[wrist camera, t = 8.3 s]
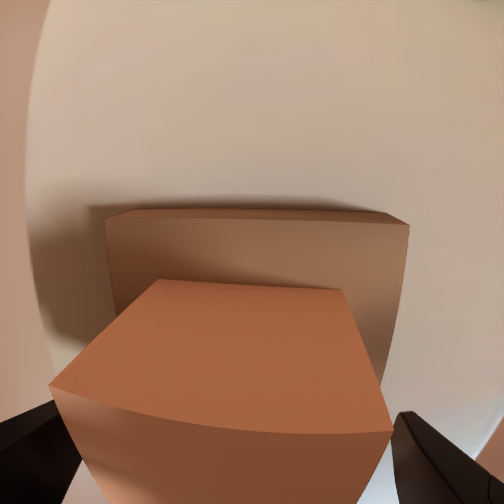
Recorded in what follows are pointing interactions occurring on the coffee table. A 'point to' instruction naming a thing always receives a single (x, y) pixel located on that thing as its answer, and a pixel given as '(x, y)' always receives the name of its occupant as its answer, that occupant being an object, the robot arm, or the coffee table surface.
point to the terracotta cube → (227, 398)
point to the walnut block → (268, 257)
